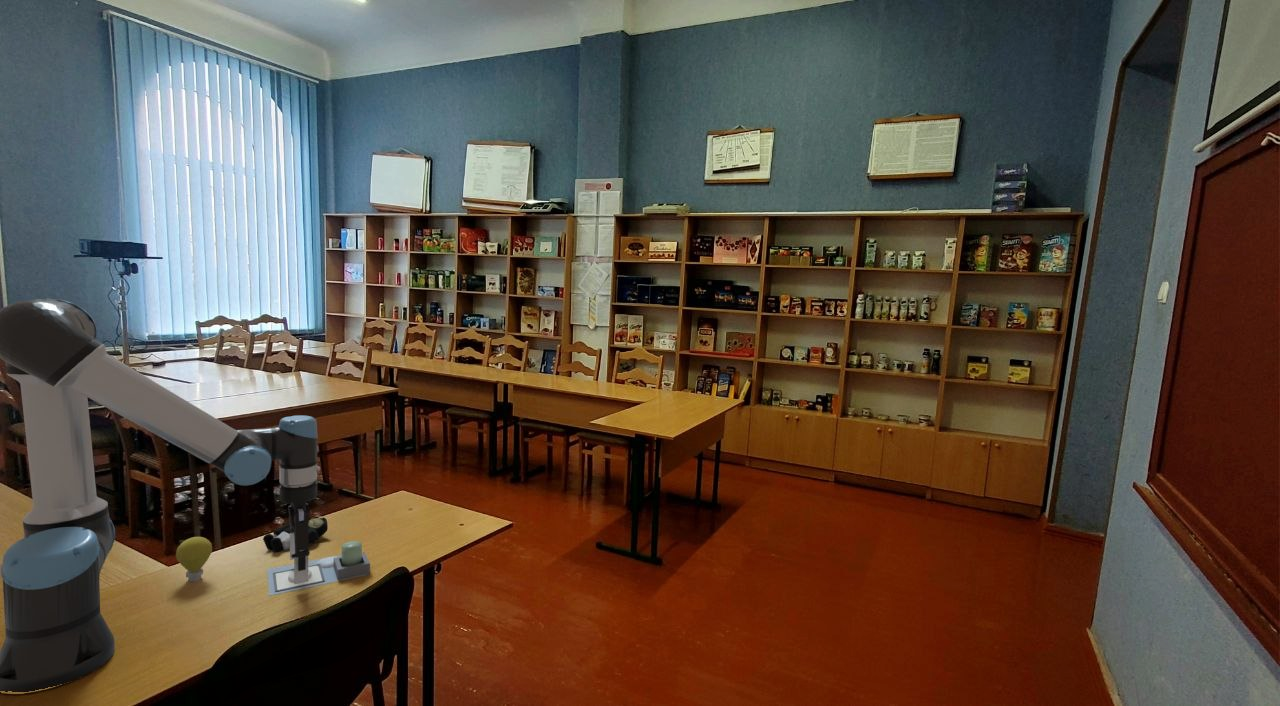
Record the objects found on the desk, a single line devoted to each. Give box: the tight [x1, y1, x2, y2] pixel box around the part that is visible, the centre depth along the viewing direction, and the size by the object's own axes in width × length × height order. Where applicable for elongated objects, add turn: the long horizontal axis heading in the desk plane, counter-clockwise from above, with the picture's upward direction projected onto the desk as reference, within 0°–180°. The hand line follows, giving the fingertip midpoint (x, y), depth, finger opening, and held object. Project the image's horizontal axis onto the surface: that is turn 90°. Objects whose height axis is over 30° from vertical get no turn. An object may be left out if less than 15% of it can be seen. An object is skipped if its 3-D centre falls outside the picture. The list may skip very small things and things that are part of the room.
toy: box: [262, 517, 329, 553], centre depth 153 cm, size 12×8×15 cm
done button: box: [341, 540, 363, 566], centre depth 138 cm, size 4×4×4 cm
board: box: [266, 551, 371, 597], centre depth 137 cm, size 20×14×3 cm
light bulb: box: [175, 536, 213, 583], centre depth 131 cm, size 7×7×10 cm
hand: (298, 569), depth 134 cm, fingers open, 13 cm apart
